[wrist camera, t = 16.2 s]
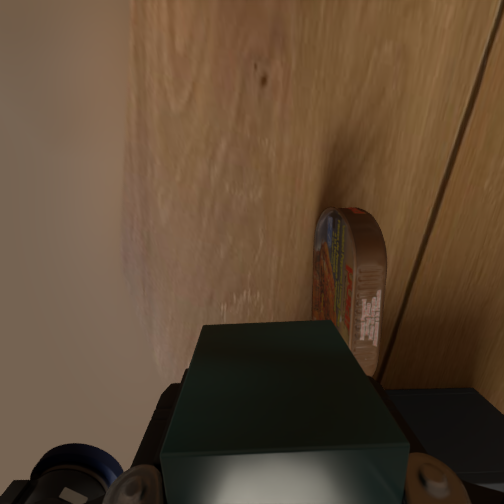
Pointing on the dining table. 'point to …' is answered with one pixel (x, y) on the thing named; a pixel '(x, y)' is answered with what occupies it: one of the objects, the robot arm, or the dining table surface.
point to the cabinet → (457, 431)
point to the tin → (351, 280)
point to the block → (281, 422)
